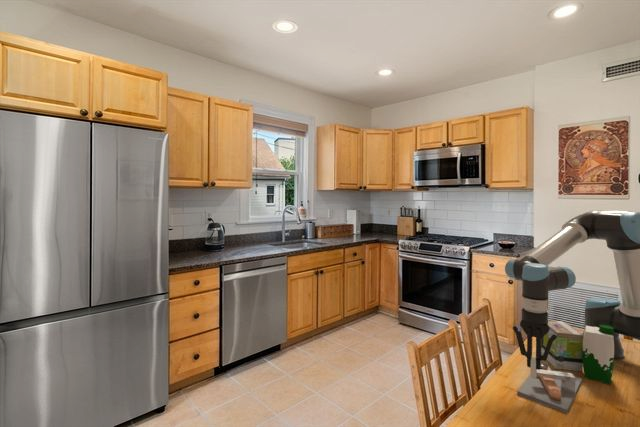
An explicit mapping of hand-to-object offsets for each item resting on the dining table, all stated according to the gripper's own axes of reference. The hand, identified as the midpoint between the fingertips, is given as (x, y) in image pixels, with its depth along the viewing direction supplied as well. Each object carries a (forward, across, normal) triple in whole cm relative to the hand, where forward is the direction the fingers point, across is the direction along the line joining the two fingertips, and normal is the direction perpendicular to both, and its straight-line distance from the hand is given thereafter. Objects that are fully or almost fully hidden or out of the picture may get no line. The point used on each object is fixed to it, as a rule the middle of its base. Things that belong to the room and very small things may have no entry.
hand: (533, 377), depth 114 cm
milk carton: (+7, +17, +28) cm, 33 cm away
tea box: (+7, +5, +34) cm, 35 cm away
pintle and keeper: (+5, +4, +9) cm, 11 cm away
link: (+5, +3, +8) cm, 10 cm away
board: (+6, +4, +8) cm, 11 cm away
